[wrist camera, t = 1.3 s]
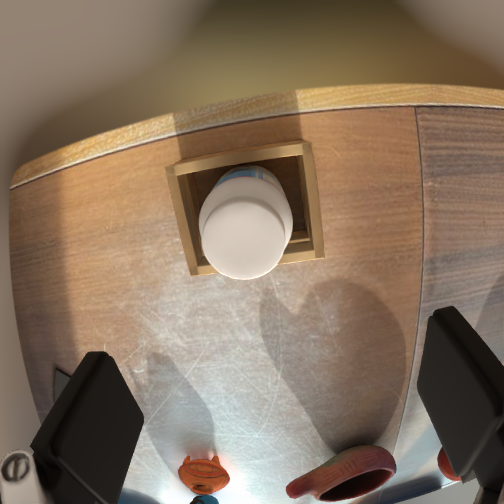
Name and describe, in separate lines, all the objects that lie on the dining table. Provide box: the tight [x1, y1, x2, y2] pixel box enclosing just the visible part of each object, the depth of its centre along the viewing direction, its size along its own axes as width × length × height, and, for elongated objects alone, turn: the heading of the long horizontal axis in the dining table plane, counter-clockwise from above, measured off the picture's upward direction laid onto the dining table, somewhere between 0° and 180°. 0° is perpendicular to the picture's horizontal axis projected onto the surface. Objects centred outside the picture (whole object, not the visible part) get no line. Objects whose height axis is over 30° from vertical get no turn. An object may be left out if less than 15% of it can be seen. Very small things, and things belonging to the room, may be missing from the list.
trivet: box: [55, 369, 71, 402], centre depth 40 cm, size 10×10×1 cm
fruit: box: [437, 446, 471, 481], centre depth 38 cm, size 11×10×10 cm
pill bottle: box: [199, 164, 293, 279], centre depth 23 cm, size 6×6×11 cm
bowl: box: [286, 445, 397, 502], centre depth 39 cm, size 16×13×8 cm
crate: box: [165, 140, 325, 276], centre depth 26 cm, size 11×9×5 cm
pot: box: [178, 456, 230, 495], centre depth 41 cm, size 8×8×7 cm
